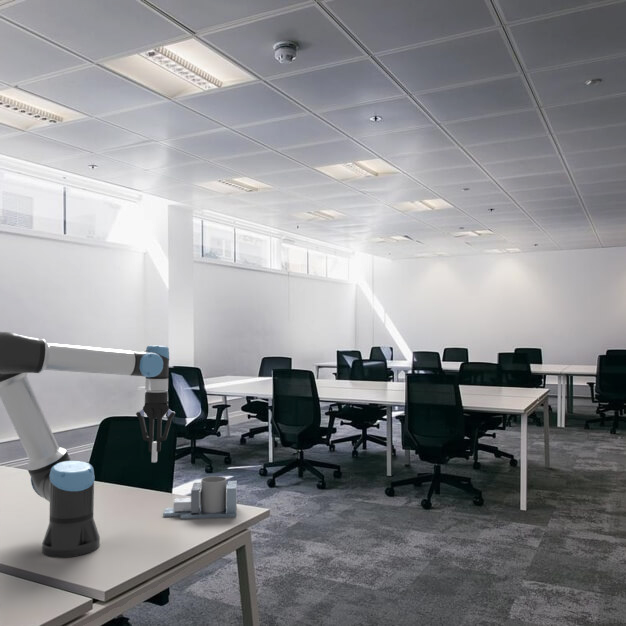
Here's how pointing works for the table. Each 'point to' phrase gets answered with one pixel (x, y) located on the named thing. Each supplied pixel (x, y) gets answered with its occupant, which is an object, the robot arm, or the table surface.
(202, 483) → the cup
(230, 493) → the vise base
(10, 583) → the table surface
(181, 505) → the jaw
